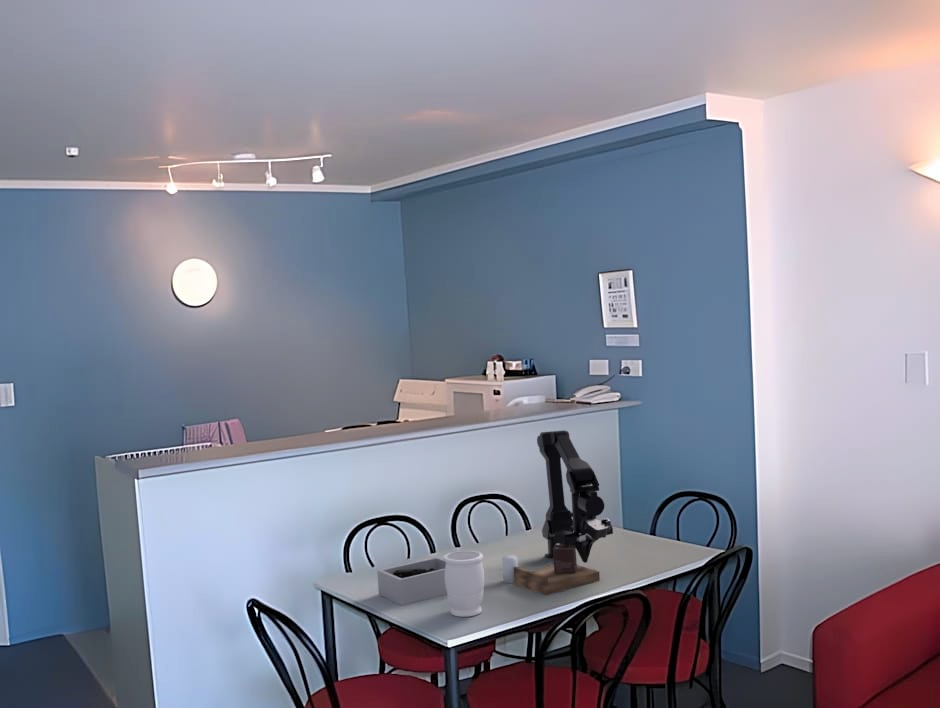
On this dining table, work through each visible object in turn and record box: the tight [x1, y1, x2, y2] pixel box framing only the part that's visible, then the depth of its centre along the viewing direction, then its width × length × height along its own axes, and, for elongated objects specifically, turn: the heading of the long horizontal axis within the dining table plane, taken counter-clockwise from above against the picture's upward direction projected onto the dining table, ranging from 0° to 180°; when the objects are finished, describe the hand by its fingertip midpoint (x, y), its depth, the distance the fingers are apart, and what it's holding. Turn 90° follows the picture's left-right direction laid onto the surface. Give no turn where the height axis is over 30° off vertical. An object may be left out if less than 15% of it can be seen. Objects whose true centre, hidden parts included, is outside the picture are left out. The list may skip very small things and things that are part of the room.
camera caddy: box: [376, 556, 447, 607], centre depth 254 cm, size 13×20×7 cm, turn 124°
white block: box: [501, 554, 519, 584], centre depth 260 cm, size 4×4×7 cm
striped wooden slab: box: [513, 564, 601, 596], centre depth 257 cm, size 14×20×5 cm
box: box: [552, 543, 578, 574], centre depth 258 cm, size 6×6×7 cm
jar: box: [443, 550, 485, 618], centre depth 234 cm, size 11×10×15 cm
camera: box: [393, 568, 439, 578], centre depth 254 cm, size 14×7×8 cm, turn 83°
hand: (585, 562), depth 263 cm, fingers closed
